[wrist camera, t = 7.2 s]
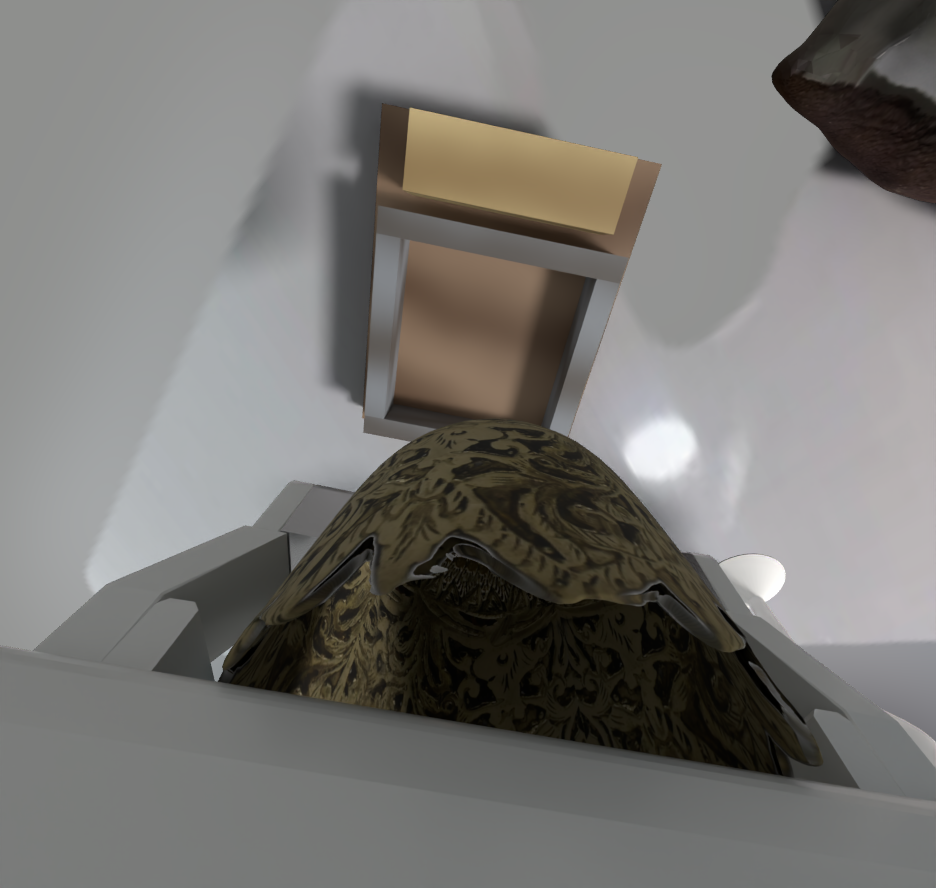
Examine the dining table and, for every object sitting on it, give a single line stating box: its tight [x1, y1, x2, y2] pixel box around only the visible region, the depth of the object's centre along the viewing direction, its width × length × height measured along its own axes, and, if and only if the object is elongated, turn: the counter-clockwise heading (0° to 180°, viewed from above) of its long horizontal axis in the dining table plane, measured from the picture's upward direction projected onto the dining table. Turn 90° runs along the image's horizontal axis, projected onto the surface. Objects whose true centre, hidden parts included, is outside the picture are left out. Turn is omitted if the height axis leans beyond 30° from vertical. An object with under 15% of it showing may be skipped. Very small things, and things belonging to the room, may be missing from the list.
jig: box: [362, 103, 662, 442], centre depth 23 cm, size 17×14×4 cm
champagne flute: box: [719, 554, 936, 768], centre depth 23 cm, size 7×7×24 cm
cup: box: [218, 418, 823, 778], centre depth 8 cm, size 8×7×8 cm
